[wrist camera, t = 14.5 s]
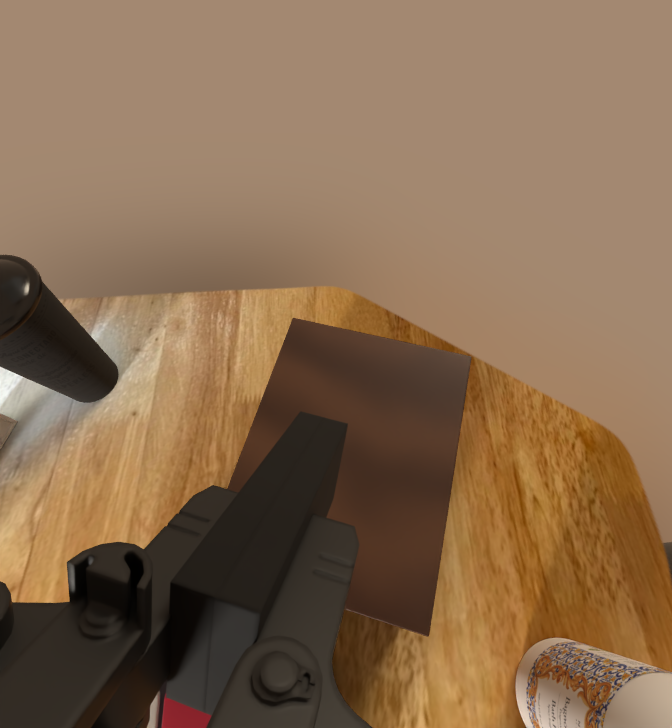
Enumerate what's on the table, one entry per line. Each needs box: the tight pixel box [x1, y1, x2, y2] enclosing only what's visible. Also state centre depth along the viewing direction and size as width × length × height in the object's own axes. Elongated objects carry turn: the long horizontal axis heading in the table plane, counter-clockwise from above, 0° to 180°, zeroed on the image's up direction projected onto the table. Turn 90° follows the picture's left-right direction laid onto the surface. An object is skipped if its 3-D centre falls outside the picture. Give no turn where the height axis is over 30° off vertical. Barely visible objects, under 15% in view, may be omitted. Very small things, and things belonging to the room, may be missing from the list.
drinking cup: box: [0, 255, 118, 402], centre depth 31 cm, size 8×8×20 cm
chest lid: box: [228, 318, 471, 637], centre depth 26 cm, size 17×13×1 cm
